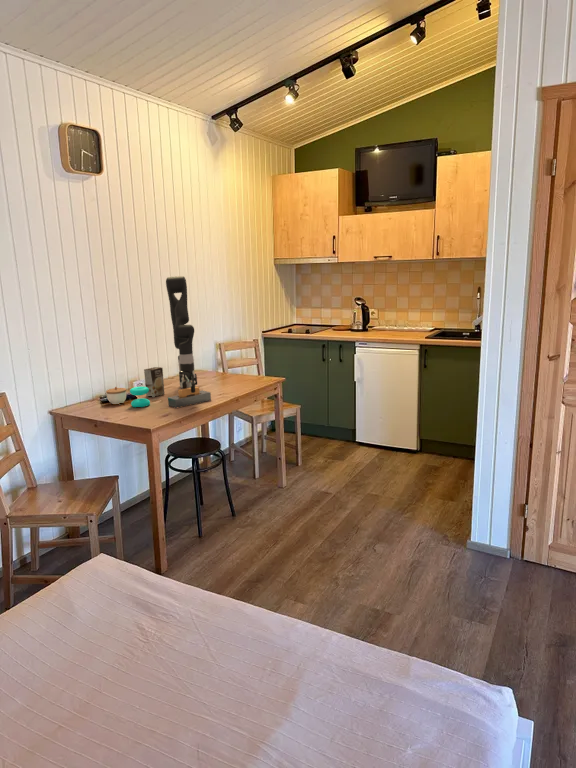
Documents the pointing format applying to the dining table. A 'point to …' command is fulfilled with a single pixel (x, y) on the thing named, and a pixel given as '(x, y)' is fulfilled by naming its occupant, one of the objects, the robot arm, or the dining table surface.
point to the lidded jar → (116, 395)
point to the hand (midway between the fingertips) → (189, 391)
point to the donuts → (142, 401)
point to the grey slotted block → (189, 399)
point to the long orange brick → (187, 392)
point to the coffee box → (154, 381)
